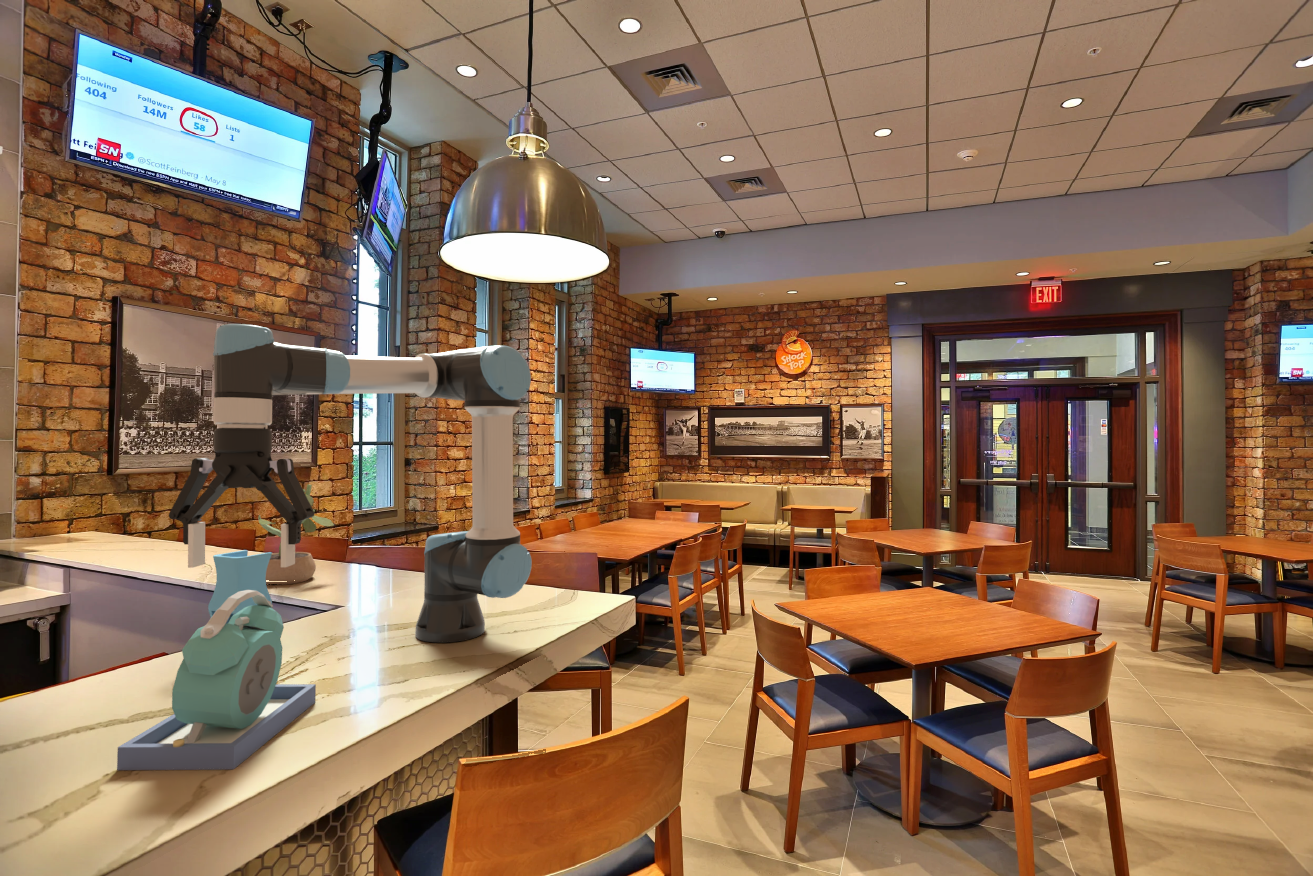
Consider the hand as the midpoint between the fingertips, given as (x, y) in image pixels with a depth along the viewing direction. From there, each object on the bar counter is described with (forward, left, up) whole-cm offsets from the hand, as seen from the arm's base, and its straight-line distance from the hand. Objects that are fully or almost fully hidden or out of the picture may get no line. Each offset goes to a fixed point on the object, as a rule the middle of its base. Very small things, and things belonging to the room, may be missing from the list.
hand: (242, 566), depth 97 cm
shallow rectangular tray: (+1, +2, -25) cm, 25 cm away
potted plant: (+46, -103, -25) cm, 115 cm away
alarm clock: (0, +2, -24) cm, 24 cm away
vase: (+22, -36, -25) cm, 49 cm away
